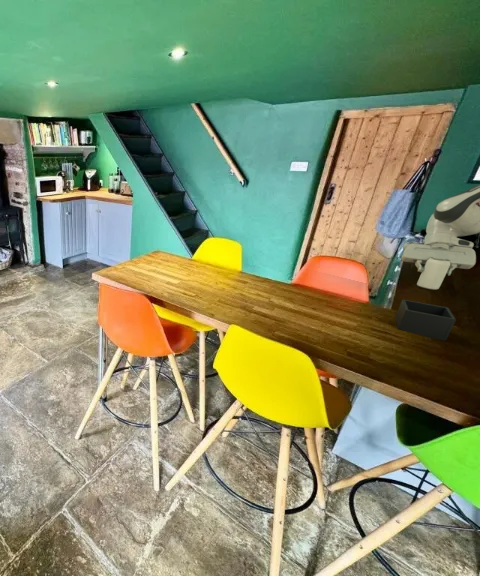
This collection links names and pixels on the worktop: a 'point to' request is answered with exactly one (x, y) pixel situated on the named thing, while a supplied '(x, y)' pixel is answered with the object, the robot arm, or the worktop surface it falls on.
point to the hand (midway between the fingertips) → (433, 273)
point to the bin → (424, 319)
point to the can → (433, 273)
